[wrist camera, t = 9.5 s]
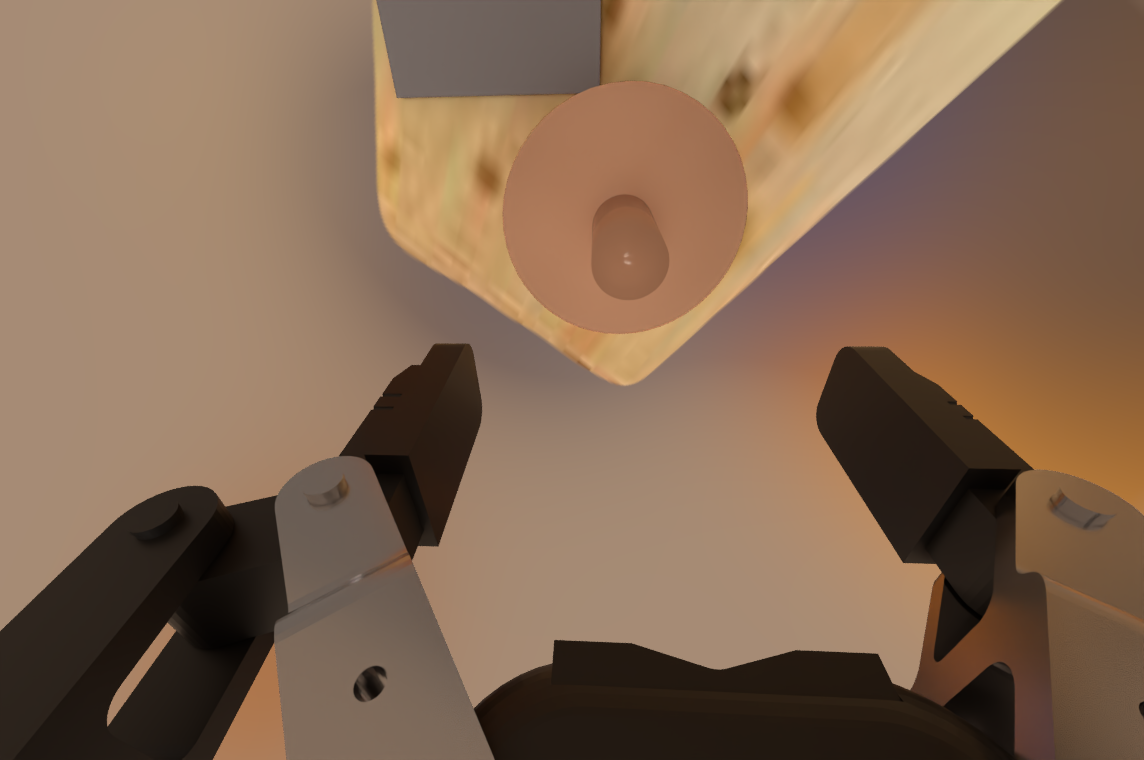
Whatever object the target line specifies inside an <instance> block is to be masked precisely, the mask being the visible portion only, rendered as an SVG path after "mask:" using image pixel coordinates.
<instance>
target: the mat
mask: <svg viewBox="0 0 1144 760" xmlns="http://www.w3.org/2000/svg"><path fill="white" fill-rule="evenodd" d="M377 5H378V10H379V15H380V19H381V24H382V29H383V34H384V39H385V43H386V48H387V53H388V58H389V63H390V67H391V72H392V77H393V82H394V87H395V91H396V96H397V98H412V97H452V96H492V95H531V94H571V93H581V92H583V91H585V90H588V89H590V88H593V87H596V86H600V19H601V0H377Z"/></svg>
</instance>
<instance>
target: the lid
mask: <svg viewBox="0 0 1144 760" xmlns="http://www.w3.org/2000/svg"><path fill="white" fill-rule="evenodd" d="M747 209H748V191H747V184H746V176H745V172H744V168H743V165H742V161H741V158H740V155H739V153H738V151H737V148H736V146H735V144H734V142H733V140H732V138H731V137H730V135H729V134H728V132H727V131H726V129H725V128H724V126H723V125H722V124H721V123H720V121H719V120H718V119H717V118H716V117H715V116H714V115H713V114H712V112H710V111H709V110H708V109H707V108H705V107H704V106H703V105H702V104H701V103H699V102H698V101H697V100H695V99H693V98H692V97H690V96H688V95H686V94H685V93H683V92H681V91H678V90H676V89H673V88H670V87H668V86H665V85H661V84H656V83H651V82H644V81H622V82H613V83H607V84H604V85H600V86H596V87H593V88H590V89H588V90H585V91H583V92H581V93H579V94H576V95H574V96H572V97H571V98H569V99H568V100H566V101H565V102H563V103H561V104H560V105H558V106H557V107H556V108H555V109H553V110H552V111H551V112H550V113H549V114H548V115H546V116H545V117H544V118H543V119H542V120H541V121H540V123H539V124H538V125H537V126H536V127H535V128H534V129H533V130H532V132H531V133H530V134H529V136H528V137H527V139H526V140H525V142H524V143H523V145H522V146H521V148H520V150H519V152H518V154H517V156H516V158H515V160H514V162H513V165H512V168H511V171H510V174H509V177H508V180H507V184H506V189H505V194H504V204H503V227H504V234H505V240H506V245H507V248H508V251H509V255H510V258H511V261H512V263H513V265H514V267H515V269H516V272H517V274H518V275H519V277H520V278H521V280H522V282H523V283H524V285H525V286H526V288H527V289H528V290H529V291H530V293H531V294H532V295H533V296H534V297H535V298H536V299H537V300H538V301H539V302H540V303H541V304H542V305H543V306H544V307H545V308H547V309H548V310H549V311H550V312H552V313H553V314H554V315H556V316H558V317H559V318H561V319H563V320H565V321H566V322H569V323H571V324H573V325H575V326H578V327H581V328H584V329H587V330H591V331H596V332H601V333H612V334H625V333H636V332H641V331H647V330H650V329H653V328H657V327H660V326H662V325H665V324H667V323H669V322H672V321H674V320H676V319H677V318H679V317H681V316H683V315H684V314H686V313H687V312H689V311H690V310H692V309H693V308H694V307H696V306H697V305H698V304H699V303H701V302H702V301H703V300H704V299H705V298H706V297H707V296H708V295H709V294H710V293H711V292H712V291H713V290H714V288H715V287H716V286H717V285H718V284H719V283H720V281H721V280H722V278H723V277H724V275H725V274H726V272H727V271H728V269H729V267H730V266H731V264H732V262H733V260H734V258H735V256H736V254H737V251H738V248H739V246H740V243H741V241H742V237H743V233H744V229H745V225H746V217H747Z"/></svg>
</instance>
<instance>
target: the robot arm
mask: <svg viewBox="0 0 1144 760" xmlns="http://www.w3.org/2000/svg"><path fill="white" fill-rule="evenodd" d="M481 416H482V400H481V394H480V390H479V383H478V377H477V371H476V366H475V360H474V354H473V350H472V348H471V346H470V345H469V344H434V345H433V347H432V348H431V350H430V351H429V353H428V354H427V356H426V358H425V359H424V361H423V362H422V364H421V365H411V366H410V367H408V368H407V369H406V370H404V371H403V372H402V373H400V374H399V375H397V376H396V377H394V378H393V379H392V381H391V382H390V384H389V385H388V387H387V388H386V390H385V391H384V392H383V397H380V398H379V399H378V401H377V402H376V404H375V405H374V410H371V411H370V412H369V414H368V415H367V417H366V418H365V420H364V421H363V422H362V424H361V425H360V427H359V428H358V429H357V431H356V432H355V434H354V435H353V437H352V438H351V440H350V441H349V442H348V444H347V445H346V447H345V448H344V450H343V451H342V452H341V454H340V455H339V457H333V458H329V459H325V460H322V461H319V462H317V463H315V464H312V465H310V466H308V467H307V468H305V469H303V470H301V471H300V472H299V473H297V474H296V475H294V476H293V477H292V478H291V479H290V480H289V481H288V482H287V483H286V484H285V485H284V486H283V487H282V489H281V490H280V492H279V494H278V495H277V496H272V497H268V498H263V499H259V500H254V501H250V502H245V503H241V504H237V505H232V506H227V507H225V506H224V504H223V503H222V501H221V500H220V499H219V497H218V496H217V494H216V493H214V491H213V490H211V489H209V488H207V487H203V486H187V487H181V488H176V489H173V490H169V491H166V492H164V493H161V494H158V495H156V496H154V497H152V498H149V499H147V500H145V501H144V502H142V503H140V504H138V505H136V506H135V507H133V508H132V509H130V510H128V511H127V512H126V513H124V514H123V515H122V516H120V517H119V518H118V519H117V520H115V521H114V522H113V523H112V524H111V525H110V526H109V527H108V528H107V529H106V530H105V531H104V532H103V533H102V534H101V535H100V536H98V538H96V539H95V540H94V541H93V542H92V543H91V544H90V545H89V546H88V547H87V548H86V549H85V550H84V551H83V552H82V553H81V554H80V555H79V556H78V557H77V558H76V559H75V560H74V561H73V562H72V563H71V564H69V566H67V567H66V568H65V569H64V570H63V571H62V572H61V573H60V574H59V575H58V576H57V577H56V578H55V579H54V580H53V581H52V582H51V583H50V584H49V585H48V586H47V587H46V588H45V589H44V590H43V591H41V592H40V593H39V594H38V595H37V596H36V597H35V598H34V599H33V600H32V601H31V602H30V603H29V604H28V605H27V606H26V607H25V608H24V609H23V610H22V611H21V612H20V613H19V614H18V615H17V616H16V617H15V618H14V619H13V620H11V621H10V622H9V623H8V624H7V625H6V626H5V627H4V628H3V629H2V630H1V631H0V760H213V758H214V756H215V754H216V752H217V750H218V748H219V747H220V744H221V743H222V741H223V739H224V737H225V735H226V733H227V731H228V729H229V727H230V726H231V724H232V722H233V720H234V718H235V716H236V714H237V712H238V710H239V708H240V706H241V705H242V702H243V701H244V699H245V697H246V695H247V693H248V691H249V689H250V687H251V686H252V684H253V682H254V680H255V678H256V676H257V674H258V672H259V670H260V668H261V667H262V665H263V663H264V661H265V659H266V657H267V655H268V653H269V651H270V649H271V647H272V646H273V644H274V643H275V653H276V663H277V672H278V681H279V692H280V701H281V711H282V721H283V730H284V740H285V750H286V759H287V760H1144V516H1143V515H1142V514H1141V513H1140V512H1139V511H1138V510H1137V509H1135V508H1134V507H1133V506H1132V505H1131V504H1129V503H1128V502H1126V501H1125V500H1123V499H1122V498H1120V497H1119V496H1117V495H1115V494H1113V493H1112V492H1110V491H1108V490H1106V489H1104V488H1102V487H1100V486H1098V485H1096V484H1093V483H1091V482H1089V481H1086V480H1083V479H1081V478H1078V477H1075V476H1072V475H1068V474H1064V473H1060V472H1056V471H1048V470H1034V469H1033V468H1032V467H1031V466H1029V465H1028V464H1027V463H1026V462H1025V461H1024V460H1023V459H1022V458H1020V457H1019V456H1018V455H1017V454H1016V453H1015V452H1014V451H1012V450H1011V449H1010V448H1009V447H1008V446H1007V445H1006V444H1005V443H1003V442H1002V441H1001V440H1000V439H999V438H998V437H997V436H996V435H994V434H993V433H992V432H991V431H990V430H989V429H988V428H986V427H985V426H984V425H983V424H982V423H981V422H980V421H979V420H975V419H973V415H972V414H971V413H970V412H968V411H967V410H966V409H965V408H964V407H963V406H962V405H957V401H956V400H955V399H954V398H952V397H951V396H950V395H949V394H948V393H947V392H946V391H944V390H943V389H942V388H941V387H940V386H939V385H937V384H936V383H934V382H932V381H930V380H929V379H927V378H925V377H923V376H921V375H919V374H917V373H915V372H914V371H913V370H911V369H910V368H909V367H908V366H907V365H906V364H905V363H904V362H903V361H902V360H901V359H900V358H898V357H897V356H896V355H895V354H894V353H893V352H892V351H891V350H889V349H888V348H886V347H844V348H842V349H841V350H840V351H839V352H838V354H837V355H836V358H835V360H834V363H833V365H832V368H831V371H830V373H829V376H828V379H827V381H826V384H825V387H824V389H823V392H822V395H821V398H820V400H819V403H818V406H817V413H816V418H817V425H818V429H819V431H820V433H821V435H822V436H823V438H824V439H825V441H826V442H827V444H828V445H829V447H830V449H831V450H832V452H833V453H834V455H835V456H836V458H837V460H838V461H839V463H840V464H841V466H842V468H843V469H844V471H845V472H846V474H847V475H848V476H849V479H850V480H851V482H852V483H853V485H854V486H855V488H856V490H857V491H858V493H859V494H860V496H861V497H862V499H863V500H864V502H865V503H866V505H867V507H868V508H869V510H870V511H871V513H872V514H873V516H874V518H875V519H876V521H877V522H878V524H879V525H880V527H881V529H882V530H883V532H884V533H885V535H886V537H887V538H888V540H889V541H890V542H891V544H892V546H893V547H894V549H895V551H896V552H897V554H898V555H899V557H900V558H901V560H902V562H903V563H924V564H937V566H938V567H939V569H940V570H941V572H942V573H941V574H940V575H939V576H938V578H937V579H936V580H935V581H934V584H933V587H932V593H931V599H930V605H929V612H928V617H927V623H926V630H925V635H924V641H923V648H922V653H921V659H920V665H919V670H918V674H917V677H916V679H915V682H914V684H913V686H912V688H911V690H908V689H905V688H903V687H900V686H898V685H895V684H893V683H892V682H891V680H890V678H889V676H888V673H887V671H886V670H885V667H884V665H883V664H882V661H881V659H880V657H879V655H878V654H870V653H847V652H824V651H823V652H822V651H800V650H799V651H798V650H795V651H792V652H788V653H784V654H780V655H777V656H773V657H769V658H765V659H762V660H758V661H754V662H750V663H746V664H743V665H739V666H735V667H731V668H728V669H722V670H716V669H710V668H707V667H704V666H701V665H697V664H694V663H691V662H688V661H685V660H682V659H679V658H676V657H672V656H669V655H666V654H663V653H660V652H657V651H654V650H650V649H647V648H644V647H641V646H638V645H635V644H632V643H611V642H610V643H609V642H587V641H564V640H555V641H554V652H553V664H549V665H546V666H542V667H538V668H535V669H533V670H531V671H528V672H526V673H524V674H521V675H519V676H517V677H515V678H514V679H512V680H510V681H508V682H507V683H505V684H503V685H502V686H500V687H499V688H498V689H496V690H495V691H494V692H492V693H491V694H490V695H488V696H487V697H486V698H484V699H483V700H482V701H481V702H480V703H479V704H478V705H477V706H476V707H475V708H474V709H473V706H472V704H471V702H470V699H469V697H468V694H467V692H466V690H465V687H464V685H463V683H462V680H461V678H460V675H459V673H458V670H457V668H456V666H455V664H454V661H453V658H452V656H451V654H450V651H449V649H448V646H447V644H446V642H445V639H444V637H443V634H442V632H441V630H440V627H439V625H438V622H437V620H436V618H435V615H434V613H433V610H432V608H431V606H430V603H429V601H428V599H427V596H426V594H425V591H424V589H423V587H422V584H421V582H420V579H419V577H418V574H417V572H416V570H415V567H414V565H413V562H412V559H413V557H414V554H415V552H416V549H417V547H418V546H439V543H440V540H441V537H442V534H443V531H444V528H445V525H446V522H447V520H448V517H449V514H450V511H451V508H452V505H453V502H454V499H455V496H456V494H457V491H458V488H459V485H460V482H461V479H462V476H463V473H464V471H465V468H466V465H467V462H468V459H469V456H470V453H471V450H472V447H473V445H474V442H475V439H476V436H477V433H478V430H479V427H480V423H481ZM167 622H168V623H169V624H170V625H171V626H172V627H173V628H174V629H176V632H175V633H174V635H173V636H172V638H171V639H170V640H169V642H168V643H167V645H166V646H165V647H164V649H163V650H162V652H161V653H160V654H159V656H158V657H157V659H156V660H155V661H154V663H153V664H152V666H151V667H150V668H149V670H148V671H147V673H146V674H145V675H144V677H143V678H142V679H141V681H140V682H139V684H138V685H137V687H136V688H135V689H134V691H133V692H132V694H131V695H130V696H129V698H128V699H127V701H126V702H125V703H124V705H123V706H122V707H121V709H120V710H119V712H118V713H117V715H116V716H115V717H114V719H113V720H112V722H111V723H110V724H109V726H108V727H107V714H108V710H109V706H110V704H111V701H112V699H113V697H114V695H115V693H116V692H117V690H118V689H119V687H120V686H121V684H122V683H123V681H124V680H125V679H126V677H127V676H128V675H129V673H130V672H131V671H132V669H133V668H134V667H135V665H136V664H137V662H138V661H139V660H140V659H141V657H142V656H143V654H144V653H145V652H146V650H147V649H148V648H149V646H150V645H151V644H152V642H153V641H154V640H155V638H156V637H157V636H158V634H159V633H160V631H161V630H162V629H163V627H164V626H165V625H166V623H167Z"/></svg>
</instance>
